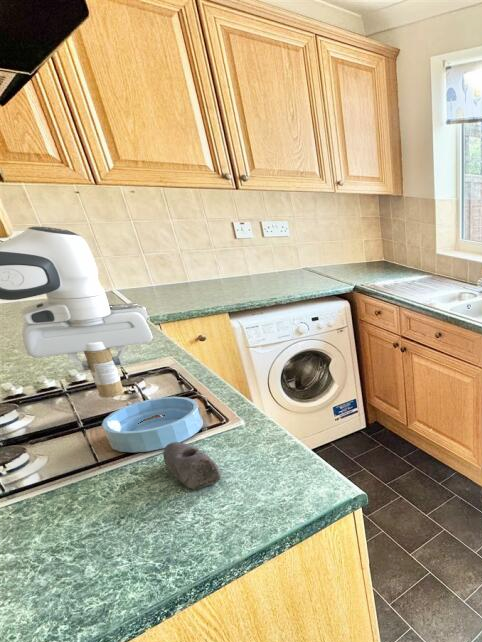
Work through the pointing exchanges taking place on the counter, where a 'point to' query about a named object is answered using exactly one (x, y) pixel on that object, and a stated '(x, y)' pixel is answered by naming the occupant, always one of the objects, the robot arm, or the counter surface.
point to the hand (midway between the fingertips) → (102, 367)
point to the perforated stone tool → (191, 465)
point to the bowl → (152, 424)
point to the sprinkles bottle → (103, 370)
